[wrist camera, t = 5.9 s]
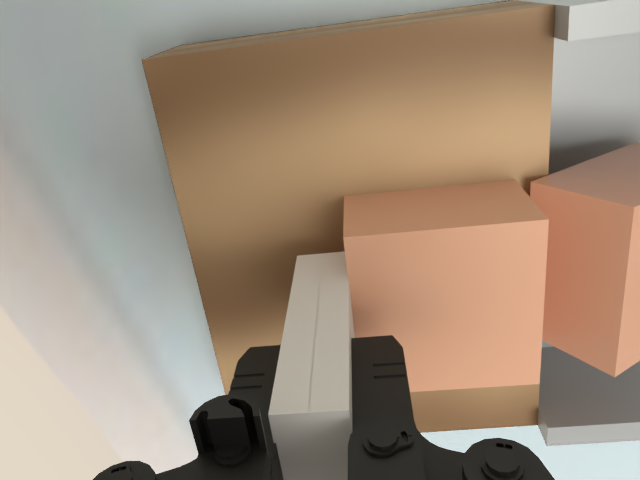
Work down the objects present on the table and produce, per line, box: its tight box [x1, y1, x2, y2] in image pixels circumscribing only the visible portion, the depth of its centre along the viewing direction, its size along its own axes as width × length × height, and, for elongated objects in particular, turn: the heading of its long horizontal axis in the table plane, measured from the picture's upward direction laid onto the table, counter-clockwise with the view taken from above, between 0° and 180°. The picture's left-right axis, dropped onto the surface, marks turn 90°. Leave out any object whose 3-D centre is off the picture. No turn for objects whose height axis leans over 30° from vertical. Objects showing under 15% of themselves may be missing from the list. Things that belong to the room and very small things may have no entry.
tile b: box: [530, 142, 640, 377], centre depth 17 cm, size 5×5×3 cm
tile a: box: [343, 180, 549, 392], centre depth 16 cm, size 5×5×3 cm
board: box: [142, 0, 555, 432], centre depth 19 cm, size 14×11×4 cm
